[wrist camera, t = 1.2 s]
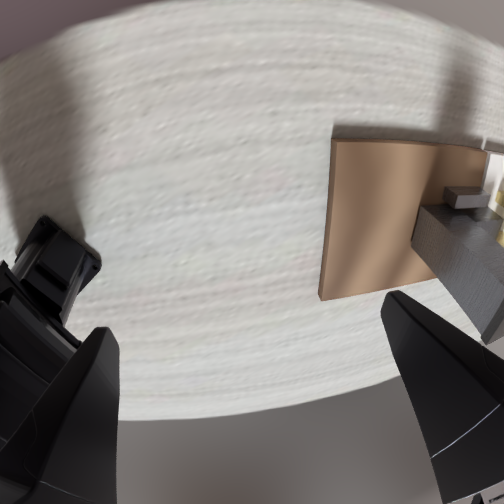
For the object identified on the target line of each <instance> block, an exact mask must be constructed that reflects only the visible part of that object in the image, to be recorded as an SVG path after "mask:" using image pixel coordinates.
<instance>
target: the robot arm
mask: <svg viewBox="0 0 504 504" xmlns="http://www.w3.org/2000/svg"><path fill="white" fill-rule="evenodd" d="M42 221H44V222H45V224H44V223H43V222H42ZM94 265H96V266H97V267H95V266H94ZM101 267H102V264H101V262H100V261H99V260H98V259H96V258H95V257H94V256H93V255H91V254H90V253H89V252H88V251H87V250H85V249H84V248H83V247H82V246H81V245H79V244H78V243H77V242H76V241H75V240H73V239H72V238H71V237H70V236H69V235H68V234H66V233H65V232H64V231H63V230H62V229H61V228H59V227H58V226H57V225H56V224H55V223H54V222H53V221H52V220H50V219H49V218H48V217H47V216H45V215H43V216H41V217H40V218H39V219H38V221H37V223H36V224H35V226H34V228H33V229H32V231H31V233H30V234H29V236H28V238H27V239H26V241H25V243H24V245H23V246H22V248H21V250H20V252H19V254H18V256H17V258H16V259H15V265H14V266H13V268H12V269H11V270H10V269H9V268H8V265H7V263H6V262H5V261H4V260H2V261H1V262H0V504H117V493H116V492H117V491H116V452H117V426H118V411H119V396H120V382H119V345H118V342H117V341H116V339H115V337H114V335H113V333H112V331H111V330H110V328H109V327H96V328H95V329H94V330H93V331H92V332H91V333H90V335H89V336H88V337H87V338H86V339H85V341H84V342H82V341H80V340H78V339H76V338H75V337H74V336H73V335H72V334H71V333H70V332H69V331H68V330H67V329H66V328H65V324H66V322H67V319H68V316H69V313H70V311H71V308H72V306H73V303H74V301H75V298H76V296H77V295H78V294H79V293H80V292H81V291H82V289H83V288H84V287H85V286H86V285H87V284H88V283H89V282H90V281H91V280H92V279H93V278H94V276H95V275H96V274H97V273H98V272H99V271H100V269H101ZM381 319H382V322H383V325H384V328H385V331H386V334H387V337H388V341H389V344H390V347H391V351H392V354H393V357H394V359H395V362H396V364H397V367H398V369H399V372H400V374H401V377H402V379H403V382H404V384H405V387H406V390H407V392H408V395H409V397H410V400H411V402H412V406H413V408H414V411H415V414H416V416H417V419H418V422H419V425H420V428H421V431H422V434H423V437H424V440H425V443H426V446H427V449H428V452H429V456H430V458H431V463H432V466H433V470H434V473H435V476H436V480H437V484H438V487H439V491H440V495H441V499H442V502H443V504H449V503H452V502H455V501H458V500H460V499H463V498H466V497H468V496H471V495H473V494H476V493H477V494H476V495H475V496H474V497H473V500H472V503H471V504H504V360H503V359H501V358H500V357H498V356H497V355H496V354H494V353H493V352H491V351H489V350H488V349H487V348H485V347H484V346H482V345H481V344H480V343H478V342H477V341H475V340H474V339H473V338H471V337H470V336H468V335H467V334H465V333H464V332H462V331H461V330H459V329H458V328H456V327H455V326H454V325H452V324H451V323H449V322H448V321H446V320H445V319H443V318H442V317H440V316H439V315H437V314H436V313H434V312H432V311H431V310H429V309H428V308H426V307H425V306H423V305H422V304H420V303H419V302H417V301H416V300H414V299H413V298H411V297H409V296H408V295H406V294H405V293H403V292H402V291H399V290H395V291H390V292H388V293H387V294H386V296H385V299H384V302H383V305H382V308H381ZM478 492H479V493H478Z"/></svg>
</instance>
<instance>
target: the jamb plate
mask: <svg viewBox="0 0 504 504" xmlns="http://www.w3.org/2000/svg"><path fill="white" fill-rule="evenodd" d="M484 151H486V152H487V153H488V154H487V159H486V164H485V169H484V173H483V178H482V182H481V186H480V188H482V189H483V190H484V191H486V192H487V193H489V194H490V195H491V196H490V200H489V204H488V207H489V208H490V209H492V210H493V211H494V212H496V213H497V214H498V215H499V216H501V217H502V218H503V219H504V208H503V207H502V206H501V205H499V204H498V203H497V202H495V199H496V195H497V191H504V153H498V152H493V151H487V150H484ZM500 231H503V232H504V220H503V223H502V226H501V229H500Z"/></svg>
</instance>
